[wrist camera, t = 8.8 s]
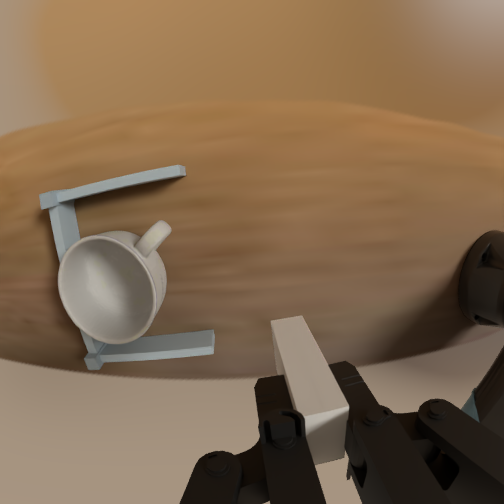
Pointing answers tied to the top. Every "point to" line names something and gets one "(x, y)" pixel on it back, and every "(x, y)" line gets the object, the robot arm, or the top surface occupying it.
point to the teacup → (114, 283)
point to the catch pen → (69, 234)
